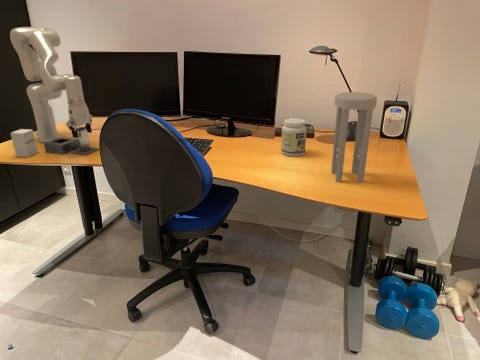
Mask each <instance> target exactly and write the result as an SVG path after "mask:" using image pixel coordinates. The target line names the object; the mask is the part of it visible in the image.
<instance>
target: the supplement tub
mask: <svg viewBox="0 0 480 360" xmlns="http://www.w3.org/2000/svg"><path fill="white" fill-rule="evenodd" d="M305 125H306V120H305V119H302V118H296V117H292V118H290V117H289V118H286V119H284V120H283V125H282V127H281V141H280V142H281V143H280V144H281V145H280V148H281V149H280V151H281V153H282V155H284V156H285V157H286V156H287V157H293V158H294V157H295V158H296V157H301V156H303V155H305V153H306V144H307V143H306V142H307V141H306V140H307V126H305Z"/></svg>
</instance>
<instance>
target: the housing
mask: <svg viewBox="0 0 480 360" xmlns="http://www.w3.org/2000/svg"><path fill="white" fill-rule="evenodd" d="M43 147H44V150H45V153H48V154H55V155H63V156H64V155H67V154H69V153H71V152H73V151H75V150H77V149H80V148H79V143H78V138H73V137H67V136H61V137H59V138H56V139H54V140H51V141H48V142H43Z"/></svg>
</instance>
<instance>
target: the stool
mask: <svg viewBox="0 0 480 360" xmlns="http://www.w3.org/2000/svg"><path fill="white" fill-rule="evenodd" d="M377 102H378V98H377V96H376V95H374V94H372V93H368V92H358V91H352V92H351V91H347V92H340V93H337V94H335V96H334V105H335V107H337V108H336V118H335V127H334V128H335V129H334V135H333V136H334V139H333V148H332V158H331V159H332V160H331V169H330V172H331V174H335V178H334V180H335V182H336V183H342V182H343V173H344V164H345V163H344V162H345V154H346V147H347V146H346V145H347V136H348V129H349V128H348V127H349V120H350V119H349V117H350V110H352V111H358V115H357V123H356V131H355V138H354V140H355V141H354V148H353V155H352V156H353V158H352V164H351V173H352V174H354V175H356V174H357V175H356V181H357V182H358V183H364V181H365V180H364V179H365V173H366V166H367V157H368V150H369V144H370V143H369V142H370V135H371V128H372V121H373V115H374V114H373V113H374V109H375V108H376V107H377Z"/></svg>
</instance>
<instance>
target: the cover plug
mask: <svg viewBox="0 0 480 360" xmlns="http://www.w3.org/2000/svg"><path fill="white" fill-rule="evenodd" d="M76 130H77V132H78V138H77V139H78V143H79V149H80V152H87V151H90V150H91V149H90V147H91V144H90V139H89V133H88V132H87V127H85V126H77V128H76Z"/></svg>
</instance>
